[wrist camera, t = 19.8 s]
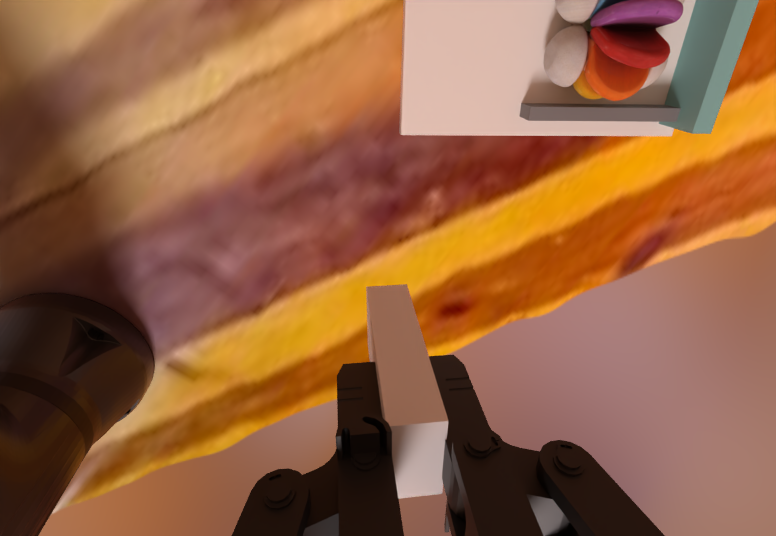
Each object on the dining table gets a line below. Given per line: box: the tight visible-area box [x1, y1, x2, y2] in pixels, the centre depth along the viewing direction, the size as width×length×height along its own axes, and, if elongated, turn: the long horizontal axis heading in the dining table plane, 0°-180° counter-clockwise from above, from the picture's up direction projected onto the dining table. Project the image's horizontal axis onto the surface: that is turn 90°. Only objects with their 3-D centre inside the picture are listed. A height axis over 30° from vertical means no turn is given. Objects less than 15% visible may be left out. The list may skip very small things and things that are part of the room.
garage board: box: [399, 0, 759, 136], centre depth 31 cm, size 23×16×5 cm
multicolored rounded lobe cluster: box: [544, 0, 685, 101], centre depth 29 cm, size 8×10×7 cm
